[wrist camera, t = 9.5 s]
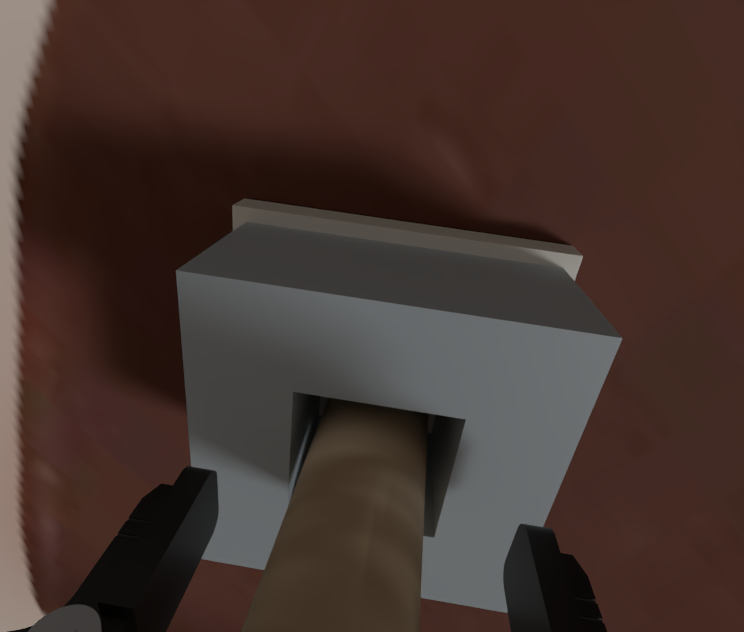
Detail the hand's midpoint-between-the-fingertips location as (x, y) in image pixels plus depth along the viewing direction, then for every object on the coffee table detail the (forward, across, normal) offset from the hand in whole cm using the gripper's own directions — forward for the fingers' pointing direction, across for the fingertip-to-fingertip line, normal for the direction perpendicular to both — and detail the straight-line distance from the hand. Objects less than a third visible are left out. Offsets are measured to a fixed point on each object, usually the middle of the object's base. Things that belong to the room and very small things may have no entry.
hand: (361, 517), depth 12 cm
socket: (+8, 0, +3) cm, 8 cm away
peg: (+7, 0, 0) cm, 7 cm away
